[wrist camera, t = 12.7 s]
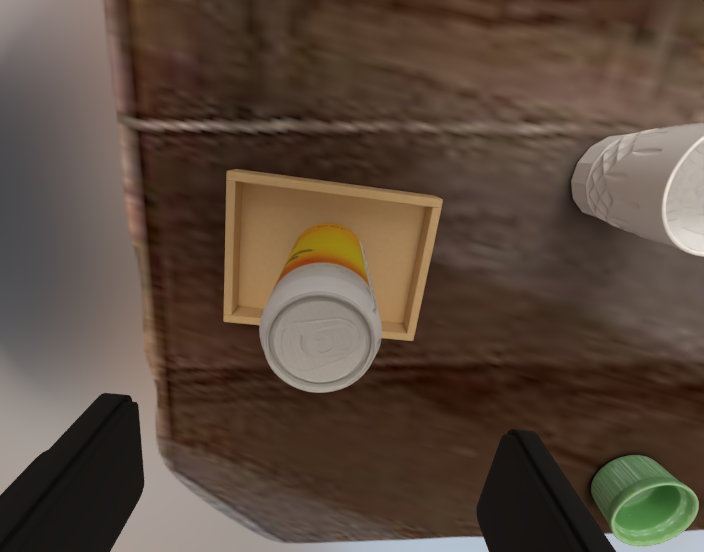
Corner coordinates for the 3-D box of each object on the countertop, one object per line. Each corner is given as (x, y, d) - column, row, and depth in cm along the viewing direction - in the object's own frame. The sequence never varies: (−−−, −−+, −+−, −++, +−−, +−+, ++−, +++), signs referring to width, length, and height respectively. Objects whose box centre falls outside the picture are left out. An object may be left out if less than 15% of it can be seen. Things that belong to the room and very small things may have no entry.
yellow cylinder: (284, 230, 30) (236, 301, 16) (355, 213, 30) (370, 271, 16) (303, 295, 32) (275, 410, 18) (370, 280, 32) (395, 385, 18)
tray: (235, 168, 29) (226, 170, 27) (435, 195, 30) (443, 199, 28) (231, 309, 33) (223, 321, 31) (407, 327, 34) (413, 341, 32)
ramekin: (575, 508, 43) (600, 546, 39) (597, 448, 40) (627, 482, 36) (647, 509, 43) (680, 547, 39) (675, 450, 40) (713, 484, 36)
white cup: (635, 230, 32) (759, 264, 22) (550, 217, 31) (640, 247, 22) (673, 135, 29) (831, 128, 20) (582, 119, 29) (700, 105, 19)
